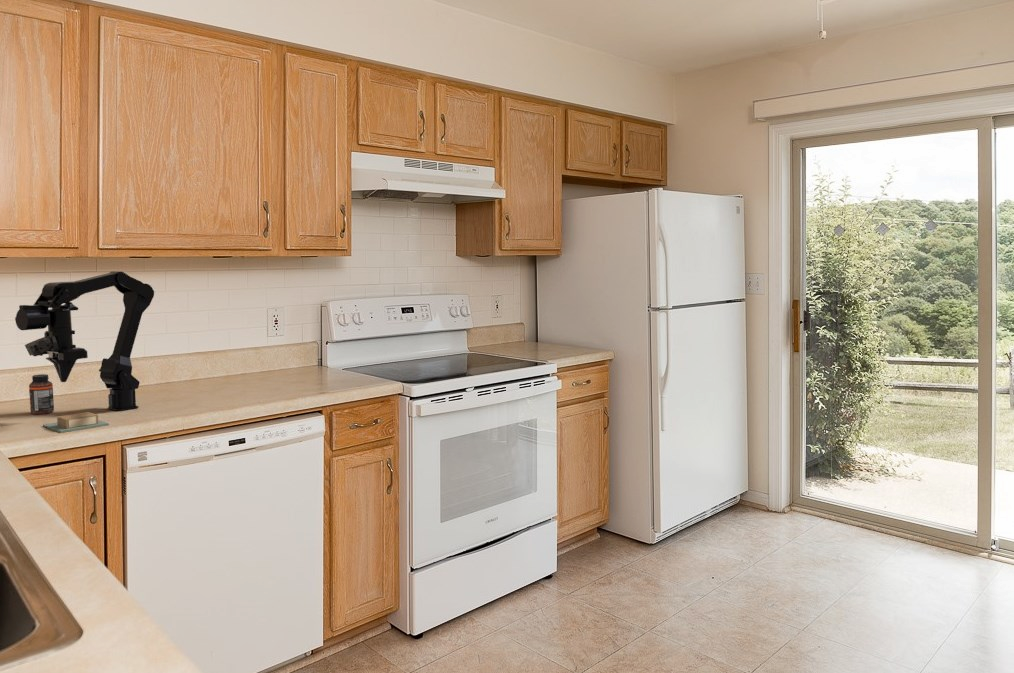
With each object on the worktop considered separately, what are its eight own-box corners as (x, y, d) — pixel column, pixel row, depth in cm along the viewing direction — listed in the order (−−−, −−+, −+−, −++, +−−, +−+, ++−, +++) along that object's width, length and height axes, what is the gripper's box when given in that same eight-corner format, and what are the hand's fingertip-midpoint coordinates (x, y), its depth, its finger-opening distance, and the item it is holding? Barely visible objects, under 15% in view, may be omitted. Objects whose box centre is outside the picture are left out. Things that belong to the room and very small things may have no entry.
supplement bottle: (31, 411, 218) (28, 374, 217) (54, 410, 221) (52, 373, 220) (30, 415, 213) (27, 377, 212) (54, 413, 216) (51, 375, 215)
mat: (89, 419, 209) (89, 417, 209) (108, 424, 202) (108, 423, 202) (43, 426, 200) (42, 424, 200) (61, 432, 192) (60, 430, 192)
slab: (88, 412, 204) (98, 414, 200) (88, 420, 204) (98, 423, 201) (57, 416, 198) (66, 419, 194) (57, 425, 198) (66, 429, 194)
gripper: (14, 327, 205) (18, 382, 206) (42, 331, 194) (46, 389, 195) (57, 324, 214) (60, 377, 215) (86, 328, 202) (90, 383, 204)
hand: (63, 381), depth 207 cm, fingers closed
